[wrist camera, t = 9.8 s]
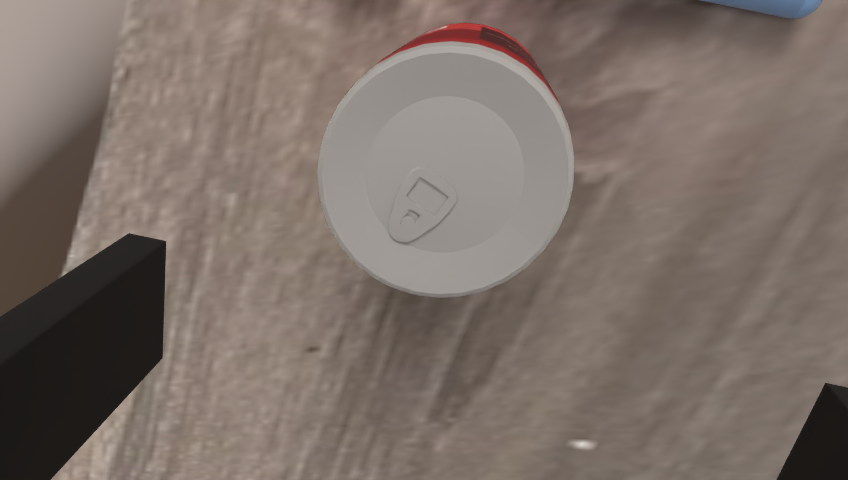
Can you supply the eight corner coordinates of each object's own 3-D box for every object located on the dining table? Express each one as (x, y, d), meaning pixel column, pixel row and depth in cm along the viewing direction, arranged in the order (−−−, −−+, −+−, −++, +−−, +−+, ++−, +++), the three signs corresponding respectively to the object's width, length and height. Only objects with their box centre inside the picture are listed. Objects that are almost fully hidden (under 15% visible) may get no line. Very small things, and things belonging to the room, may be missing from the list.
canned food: (356, 163, 30) (286, 253, 20) (409, -7, 27) (359, -1, 17) (505, 218, 30) (512, 334, 20) (575, 56, 27) (624, 99, 17)
